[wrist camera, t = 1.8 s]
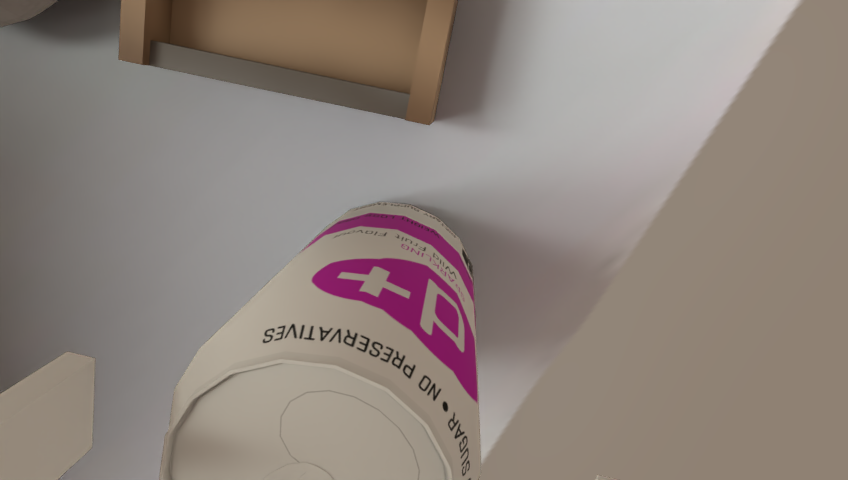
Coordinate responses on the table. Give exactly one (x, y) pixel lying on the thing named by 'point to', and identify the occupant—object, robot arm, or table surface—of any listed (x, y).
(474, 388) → the supplement can
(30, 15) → the coffee pot
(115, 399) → the table surface
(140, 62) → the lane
